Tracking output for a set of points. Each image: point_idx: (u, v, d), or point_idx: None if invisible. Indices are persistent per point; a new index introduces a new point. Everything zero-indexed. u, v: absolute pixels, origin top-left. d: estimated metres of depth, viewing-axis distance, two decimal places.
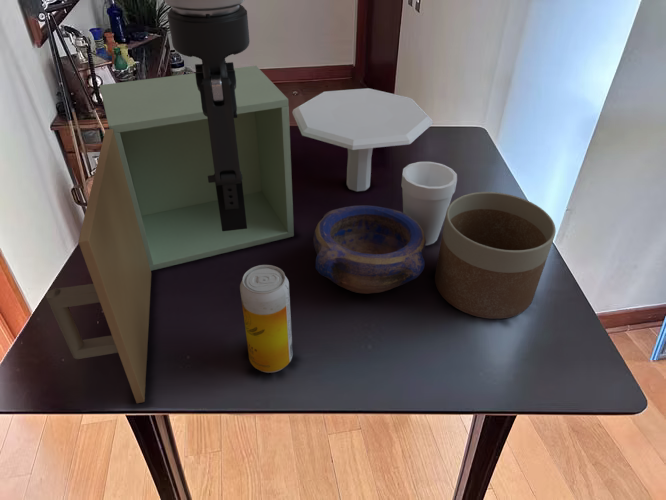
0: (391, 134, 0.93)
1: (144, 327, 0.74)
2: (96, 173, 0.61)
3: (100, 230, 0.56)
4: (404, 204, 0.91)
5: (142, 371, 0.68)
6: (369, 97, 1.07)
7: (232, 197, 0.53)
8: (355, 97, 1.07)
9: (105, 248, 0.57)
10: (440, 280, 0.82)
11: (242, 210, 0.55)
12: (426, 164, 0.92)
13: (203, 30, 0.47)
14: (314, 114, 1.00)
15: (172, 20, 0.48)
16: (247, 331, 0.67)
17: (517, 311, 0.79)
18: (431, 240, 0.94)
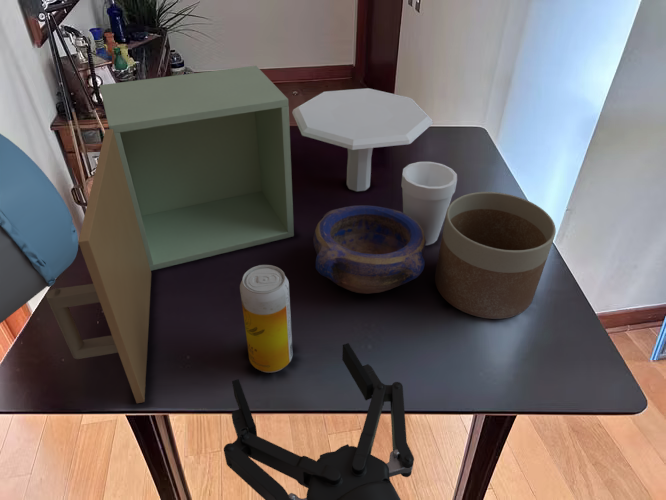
0: (391, 134, 0.93)
1: (144, 327, 0.74)
2: (96, 173, 0.61)
3: (100, 230, 0.56)
4: (404, 204, 0.91)
5: (142, 371, 0.68)
6: (369, 96, 1.07)
7: (235, 427, 0.55)
8: (355, 97, 1.07)
9: (105, 248, 0.57)
10: (440, 280, 0.82)
11: None
12: (426, 164, 0.92)
13: None
14: (314, 114, 1.00)
15: None
16: (247, 331, 0.67)
17: (517, 311, 0.79)
18: (431, 240, 0.94)
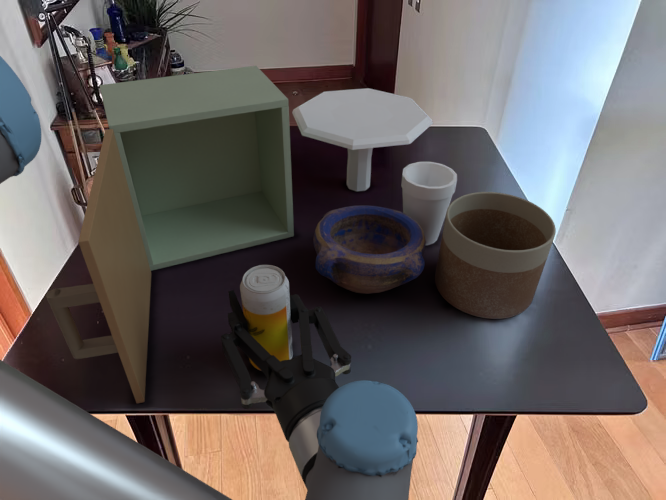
0: (391, 134, 0.93)
1: (144, 327, 0.74)
2: (96, 173, 0.61)
3: (100, 230, 0.56)
4: (404, 204, 0.91)
5: (142, 371, 0.68)
6: (369, 96, 1.07)
7: (230, 325, 0.66)
8: (355, 97, 1.07)
9: (105, 248, 0.57)
10: (440, 280, 0.82)
11: None
12: (426, 164, 0.92)
13: (282, 426, 0.54)
14: (314, 114, 1.00)
15: (300, 408, 0.53)
16: None
17: (517, 311, 0.79)
18: (431, 240, 0.94)
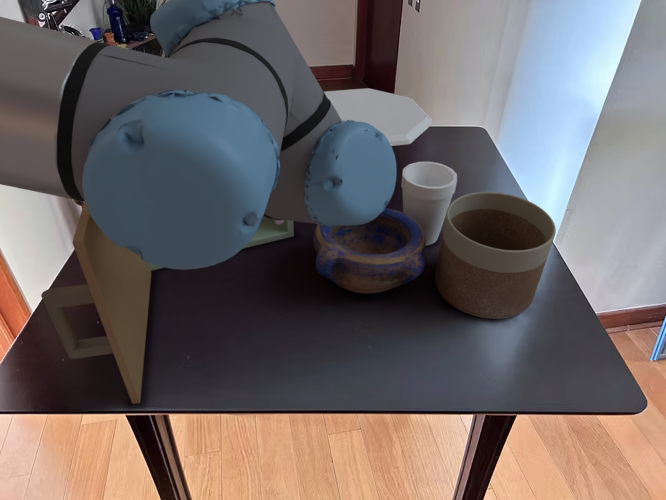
0: (391, 134, 0.93)
1: (142, 327, 0.74)
2: None
3: (96, 231, 0.56)
4: (404, 204, 0.91)
5: (138, 372, 0.68)
6: (369, 96, 1.07)
7: None
8: (355, 97, 1.07)
9: (101, 249, 0.57)
10: (440, 280, 0.82)
11: None
12: (426, 164, 0.92)
13: None
14: None
15: None
16: None
17: (517, 311, 0.79)
18: (431, 240, 0.94)
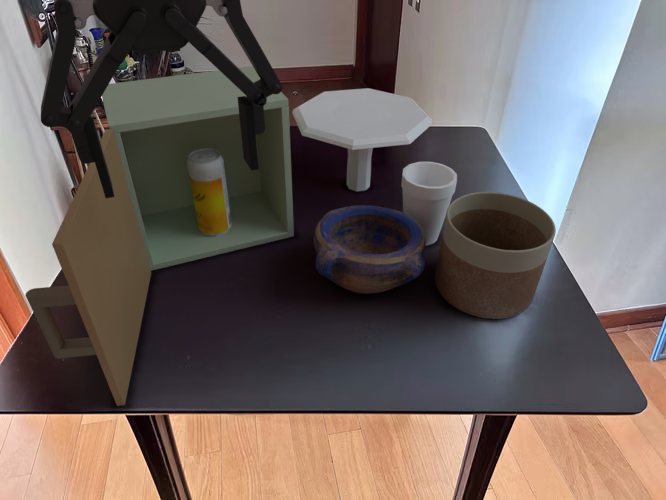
0: (391, 134, 0.93)
1: (134, 329, 0.73)
2: (86, 174, 0.61)
3: (81, 232, 0.56)
4: (404, 204, 0.91)
5: (125, 374, 0.68)
6: (369, 96, 1.07)
7: None
8: (355, 97, 1.07)
9: (86, 250, 0.57)
10: (440, 280, 0.82)
11: (98, 173, 0.45)
12: (426, 164, 0.92)
13: None
14: (314, 114, 1.00)
15: None
16: (194, 199, 0.90)
17: (517, 311, 0.79)
18: (431, 240, 0.94)
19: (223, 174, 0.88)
